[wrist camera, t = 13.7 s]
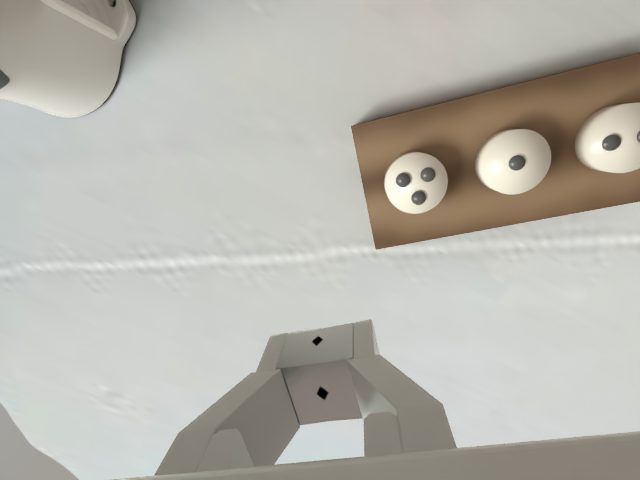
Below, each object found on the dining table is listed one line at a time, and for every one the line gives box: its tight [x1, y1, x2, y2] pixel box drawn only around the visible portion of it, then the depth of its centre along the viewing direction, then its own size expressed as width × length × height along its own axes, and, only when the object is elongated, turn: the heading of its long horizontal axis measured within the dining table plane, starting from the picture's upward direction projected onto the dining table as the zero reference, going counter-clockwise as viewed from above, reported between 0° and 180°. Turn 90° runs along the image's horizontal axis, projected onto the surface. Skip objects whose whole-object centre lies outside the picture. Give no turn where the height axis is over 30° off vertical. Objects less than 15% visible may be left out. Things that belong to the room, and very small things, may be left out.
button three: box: [384, 152, 448, 214], centre depth 29 cm, size 5×5×2 cm
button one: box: [475, 129, 551, 195], centre depth 28 cm, size 5×5×2 cm
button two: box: [575, 103, 640, 173], centre depth 26 cm, size 5×5×2 cm
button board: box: [351, 53, 640, 249], centre depth 31 cm, size 12×25×3 cm, turn 104°
